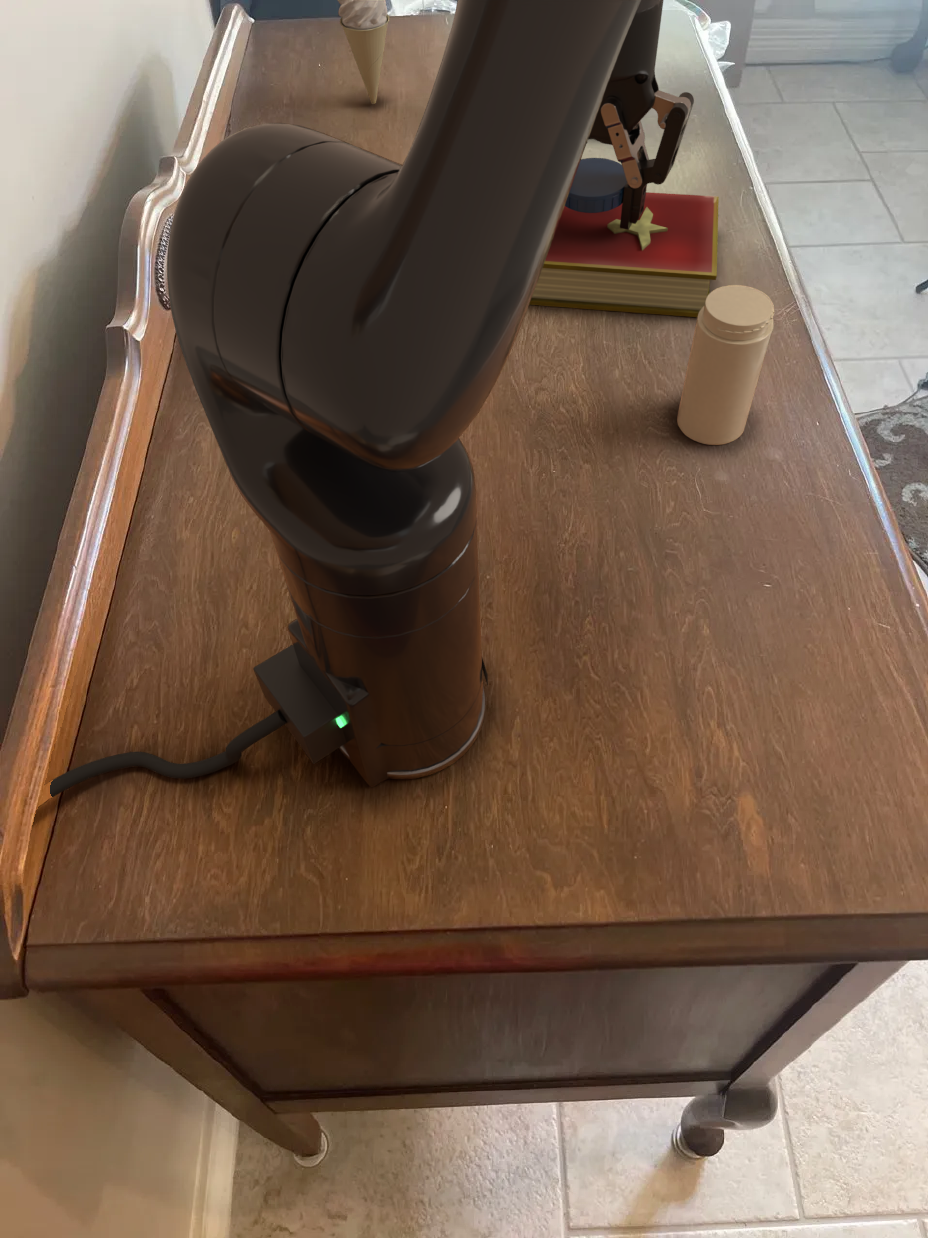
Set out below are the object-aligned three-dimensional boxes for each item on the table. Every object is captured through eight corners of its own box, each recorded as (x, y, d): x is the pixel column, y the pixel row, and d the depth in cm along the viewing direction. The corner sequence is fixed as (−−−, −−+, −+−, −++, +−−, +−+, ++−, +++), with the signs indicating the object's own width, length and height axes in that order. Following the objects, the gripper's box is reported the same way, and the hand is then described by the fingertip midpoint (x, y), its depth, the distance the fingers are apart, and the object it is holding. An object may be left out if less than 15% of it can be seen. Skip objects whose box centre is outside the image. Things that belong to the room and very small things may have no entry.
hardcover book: (480, 220, 85) (479, 176, 82) (710, 235, 83) (719, 190, 79) (457, 298, 79) (455, 254, 75) (707, 317, 76) (717, 272, 72)
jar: (711, 455, 67) (741, 338, 58) (662, 418, 69) (684, 301, 61) (759, 424, 68) (794, 307, 60) (709, 390, 71) (737, 272, 62)
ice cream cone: (340, 106, 99) (317, -59, 87) (369, 87, 101) (351, -76, 89) (377, 118, 97) (359, -49, 85) (406, 98, 99) (392, -67, 87)
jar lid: (638, 179, 76) (639, 163, 74) (615, 218, 73) (616, 202, 72) (571, 168, 77) (571, 152, 76) (546, 206, 74) (546, 190, 73)
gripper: (726, -22, 63) (686, 209, 77) (531, -46, 67) (526, 179, 81) (698, 23, 59) (661, 258, 73) (492, -6, 63) (493, 224, 77)
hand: (590, 216), depth 77 cm, fingers closed on jar lid, 5 cm apart
